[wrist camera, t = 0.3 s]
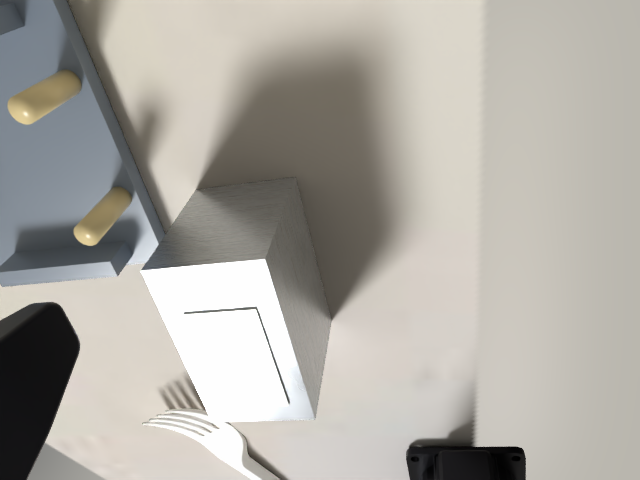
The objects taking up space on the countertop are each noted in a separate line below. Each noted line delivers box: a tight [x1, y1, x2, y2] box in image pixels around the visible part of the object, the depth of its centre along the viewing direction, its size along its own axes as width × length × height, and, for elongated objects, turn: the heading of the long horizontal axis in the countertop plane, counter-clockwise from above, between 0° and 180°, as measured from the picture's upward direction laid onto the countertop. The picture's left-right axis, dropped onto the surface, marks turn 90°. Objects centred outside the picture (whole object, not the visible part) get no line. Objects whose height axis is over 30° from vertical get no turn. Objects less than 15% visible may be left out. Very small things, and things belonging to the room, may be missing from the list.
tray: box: [0, 0, 165, 287], centre depth 22 cm, size 12×9×4 cm
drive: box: [141, 177, 332, 422], centre depth 22 cm, size 8×4×6 cm, turn 12°
